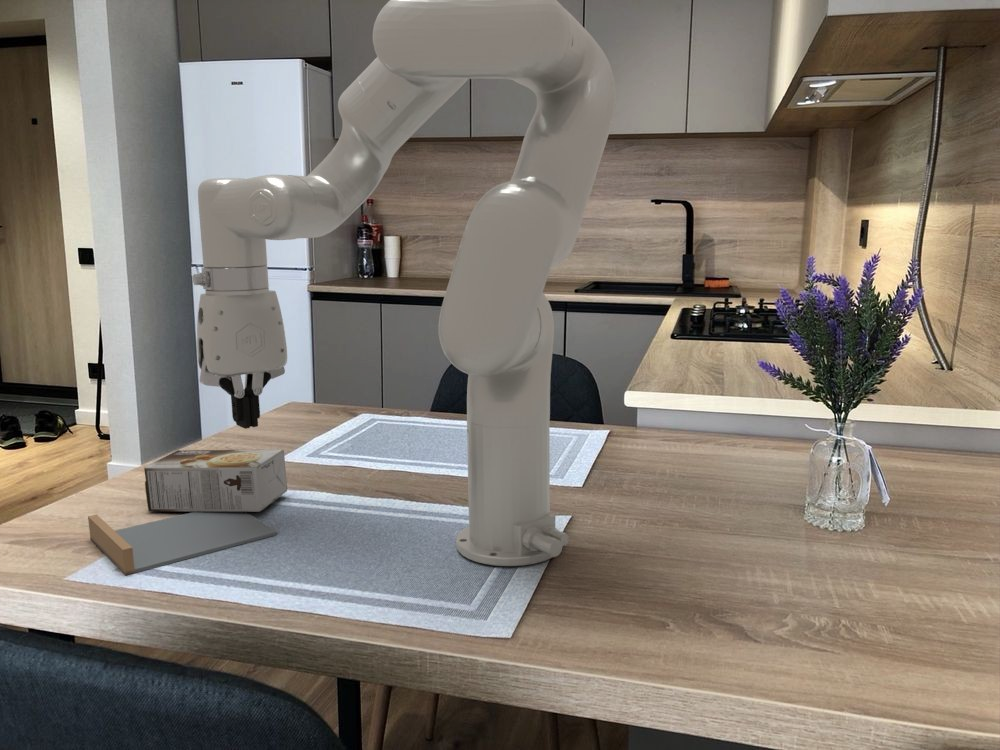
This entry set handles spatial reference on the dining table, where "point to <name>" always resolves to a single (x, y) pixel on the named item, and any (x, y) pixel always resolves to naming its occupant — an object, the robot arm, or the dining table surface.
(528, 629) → the dining table surface
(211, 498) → the food box
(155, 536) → the board
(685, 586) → the dining table surface
